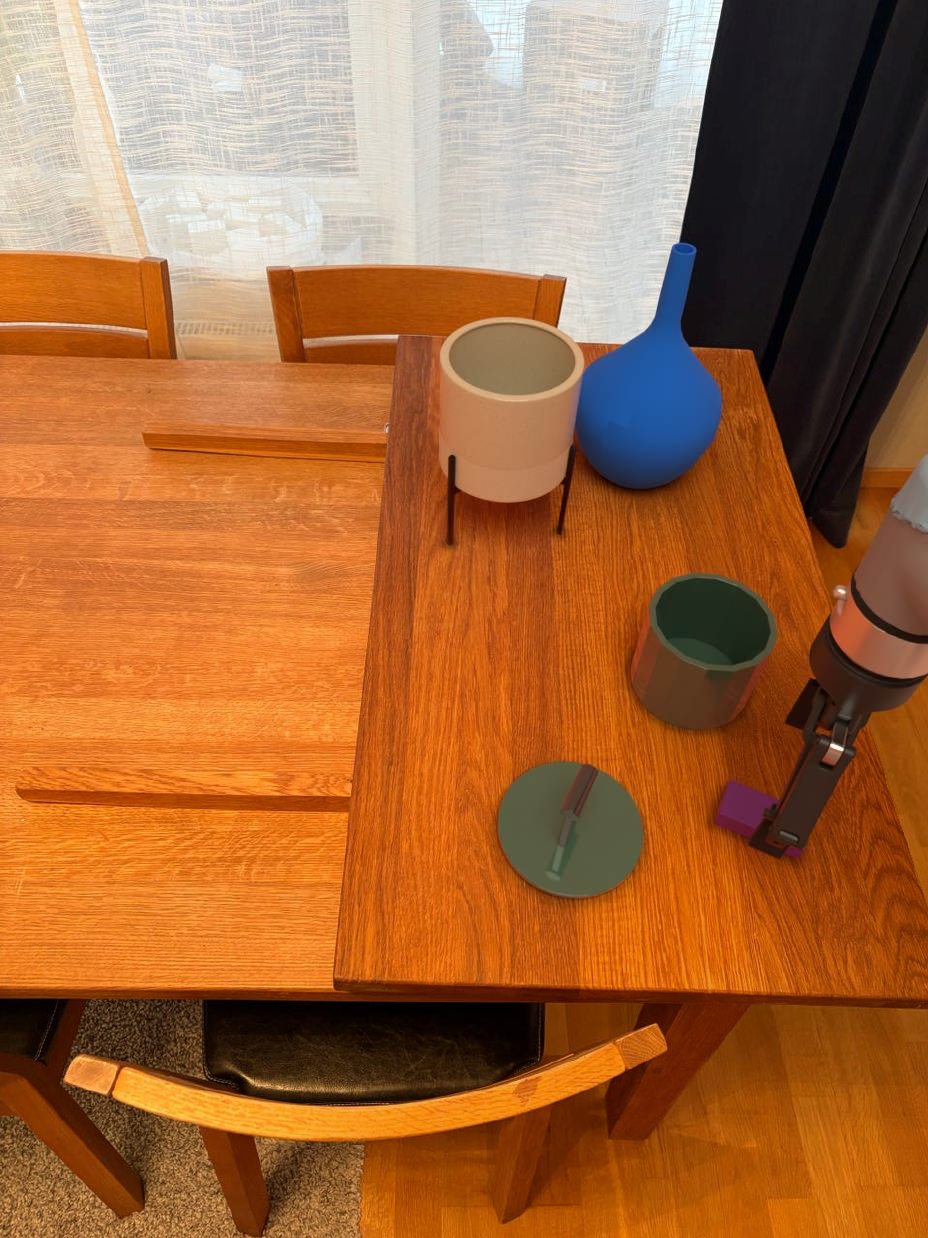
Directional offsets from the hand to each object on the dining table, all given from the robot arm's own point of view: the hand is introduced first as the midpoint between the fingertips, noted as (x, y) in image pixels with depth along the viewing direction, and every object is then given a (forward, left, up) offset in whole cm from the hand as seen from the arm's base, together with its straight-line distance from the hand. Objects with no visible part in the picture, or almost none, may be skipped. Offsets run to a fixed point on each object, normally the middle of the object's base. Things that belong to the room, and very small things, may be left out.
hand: (782, 784), depth 76 cm
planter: (+40, -27, -8) cm, 49 cm away
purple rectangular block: (0, 0, -7) cm, 7 cm away
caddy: (+11, -13, -7) cm, 18 cm away
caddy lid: (+16, +9, -7) cm, 20 cm away
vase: (+28, -44, -8) cm, 53 cm away
